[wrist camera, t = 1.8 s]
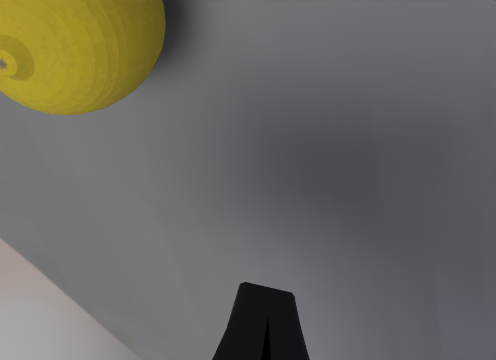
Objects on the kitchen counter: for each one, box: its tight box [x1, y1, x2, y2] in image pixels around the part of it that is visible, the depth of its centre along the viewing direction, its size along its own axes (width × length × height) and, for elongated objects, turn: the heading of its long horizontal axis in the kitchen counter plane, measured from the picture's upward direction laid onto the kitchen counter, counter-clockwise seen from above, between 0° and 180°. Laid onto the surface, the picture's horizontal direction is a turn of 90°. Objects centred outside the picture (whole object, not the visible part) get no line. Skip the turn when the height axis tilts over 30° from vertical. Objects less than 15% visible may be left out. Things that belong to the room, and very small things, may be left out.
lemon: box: [0, 0, 166, 115], centre depth 13 cm, size 6×6×8 cm
